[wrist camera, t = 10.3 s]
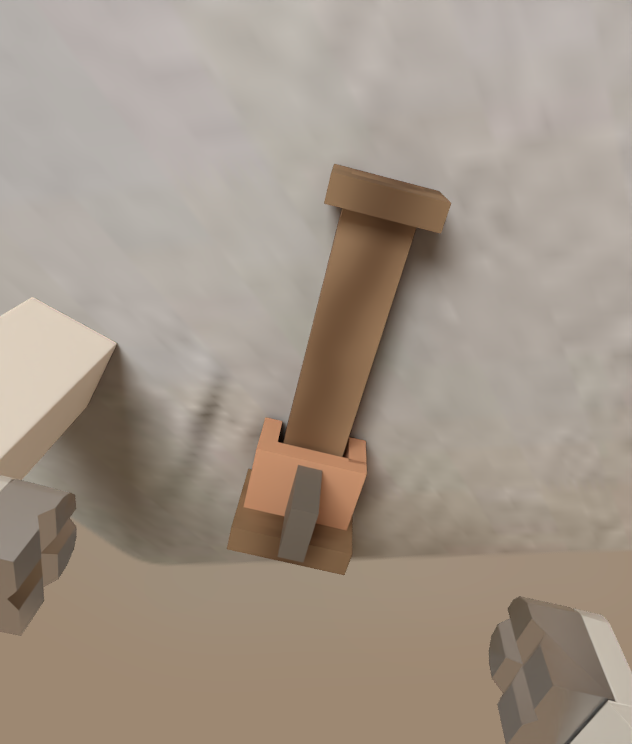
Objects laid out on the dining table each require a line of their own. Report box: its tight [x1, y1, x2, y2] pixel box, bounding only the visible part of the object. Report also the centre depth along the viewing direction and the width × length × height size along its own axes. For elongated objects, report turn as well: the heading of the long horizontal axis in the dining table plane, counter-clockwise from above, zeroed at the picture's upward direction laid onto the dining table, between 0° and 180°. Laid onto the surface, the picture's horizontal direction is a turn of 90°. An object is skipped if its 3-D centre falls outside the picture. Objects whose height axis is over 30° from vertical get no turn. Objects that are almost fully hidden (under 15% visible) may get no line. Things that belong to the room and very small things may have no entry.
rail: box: [227, 164, 451, 575], centre depth 31 cm, size 8×24×6 cm, turn 167°
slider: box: [244, 418, 367, 562], centre depth 34 cm, size 7×5×8 cm
